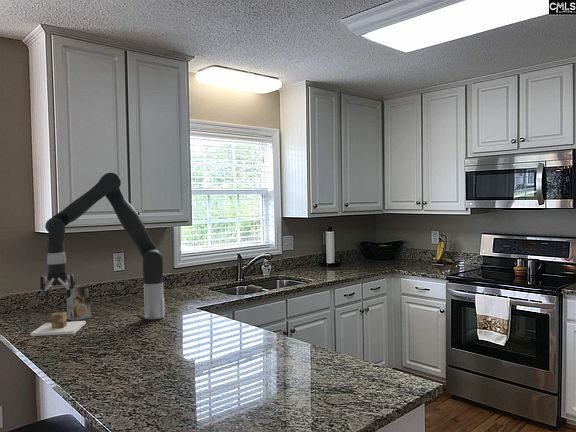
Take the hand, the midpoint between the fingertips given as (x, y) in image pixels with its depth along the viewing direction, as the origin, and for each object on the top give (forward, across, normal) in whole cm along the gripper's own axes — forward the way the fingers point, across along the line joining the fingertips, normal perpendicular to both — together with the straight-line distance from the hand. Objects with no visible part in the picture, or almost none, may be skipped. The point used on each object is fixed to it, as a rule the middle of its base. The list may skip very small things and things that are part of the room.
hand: (58, 298), depth 216 cm
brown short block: (+13, 0, 0) cm, 13 cm away
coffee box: (+15, -3, -20) cm, 25 cm away
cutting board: (+14, 0, 0) cm, 14 cm away
